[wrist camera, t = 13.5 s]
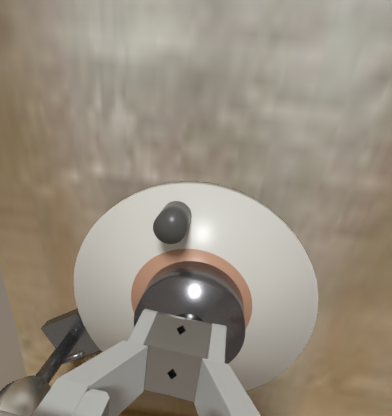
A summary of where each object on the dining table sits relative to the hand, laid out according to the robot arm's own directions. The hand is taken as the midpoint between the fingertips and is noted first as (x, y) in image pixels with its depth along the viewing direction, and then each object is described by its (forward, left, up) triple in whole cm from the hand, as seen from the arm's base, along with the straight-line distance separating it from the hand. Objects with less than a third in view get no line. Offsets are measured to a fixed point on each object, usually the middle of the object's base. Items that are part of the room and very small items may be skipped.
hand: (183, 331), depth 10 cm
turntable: (+5, +7, -16) cm, 18 cm away
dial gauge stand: (+20, +7, -16) cm, 27 cm away
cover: (+5, +7, -13) cm, 16 cm away
